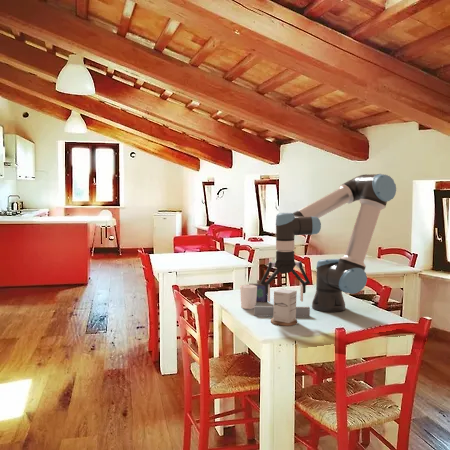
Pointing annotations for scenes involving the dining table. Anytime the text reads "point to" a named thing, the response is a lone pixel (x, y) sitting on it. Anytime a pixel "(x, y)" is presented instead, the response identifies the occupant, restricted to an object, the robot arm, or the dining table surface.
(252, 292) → the white cup
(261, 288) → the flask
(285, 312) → the supplement box
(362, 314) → the dining table surface
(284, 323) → the coaster
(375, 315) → the dining table surface
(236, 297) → the dining table surface
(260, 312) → the low wall
